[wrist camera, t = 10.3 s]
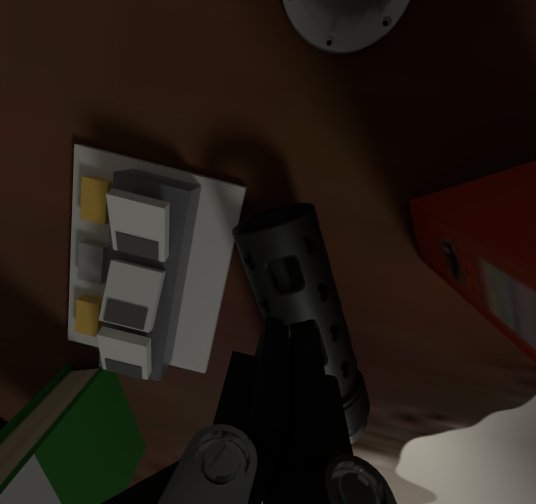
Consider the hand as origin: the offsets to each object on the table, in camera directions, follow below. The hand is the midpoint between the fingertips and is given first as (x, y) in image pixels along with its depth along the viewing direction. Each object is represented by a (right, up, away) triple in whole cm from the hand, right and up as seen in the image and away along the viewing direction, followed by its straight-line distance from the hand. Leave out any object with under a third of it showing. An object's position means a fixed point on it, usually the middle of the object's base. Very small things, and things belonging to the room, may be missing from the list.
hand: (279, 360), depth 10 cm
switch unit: (-16, +1, +31) cm, 35 cm away
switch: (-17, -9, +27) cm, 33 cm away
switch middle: (-15, -1, +25) cm, 29 cm away
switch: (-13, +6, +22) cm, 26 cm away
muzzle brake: (+5, -4, +32) cm, 33 cm away
